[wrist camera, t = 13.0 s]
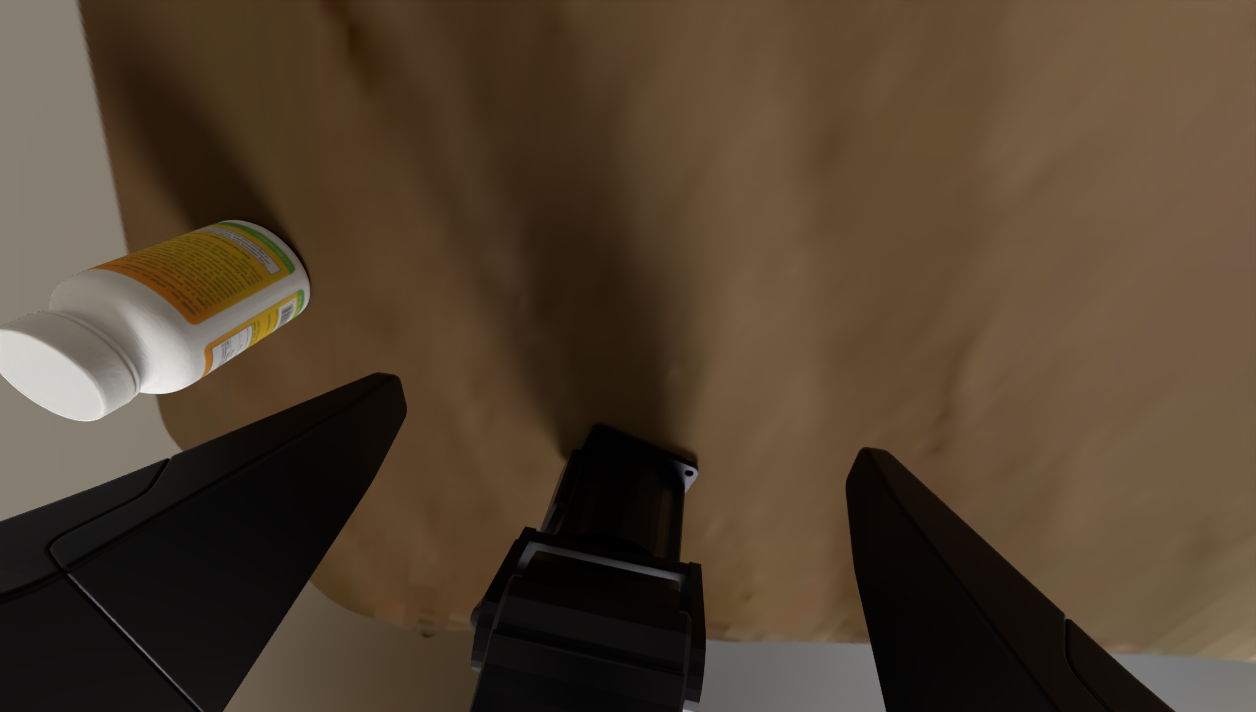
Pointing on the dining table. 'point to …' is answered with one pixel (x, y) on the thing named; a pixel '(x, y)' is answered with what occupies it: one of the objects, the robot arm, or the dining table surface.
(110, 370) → the supplement bottle
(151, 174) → the dining table surface
